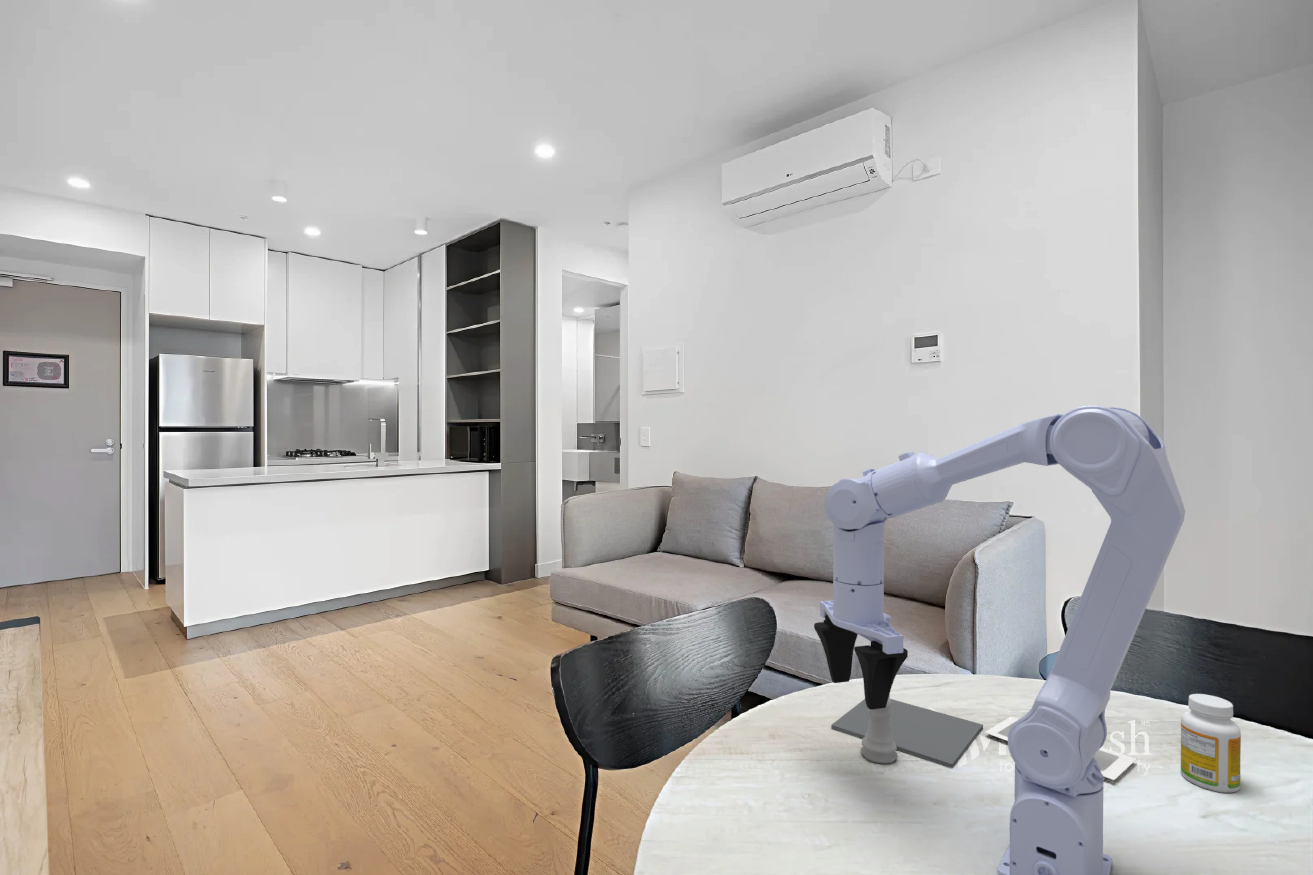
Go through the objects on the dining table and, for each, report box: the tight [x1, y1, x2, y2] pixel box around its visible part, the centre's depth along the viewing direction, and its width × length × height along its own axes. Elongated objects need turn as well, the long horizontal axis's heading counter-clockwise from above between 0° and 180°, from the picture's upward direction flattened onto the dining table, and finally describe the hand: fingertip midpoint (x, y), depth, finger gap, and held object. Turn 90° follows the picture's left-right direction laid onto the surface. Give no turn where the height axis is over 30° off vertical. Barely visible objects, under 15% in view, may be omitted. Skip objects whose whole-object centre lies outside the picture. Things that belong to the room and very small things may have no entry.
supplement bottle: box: [1180, 693, 1242, 794], centre depth 76 cm, size 5×5×10 cm
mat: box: [830, 698, 984, 769], centre depth 90 cm, size 14×16×1 cm
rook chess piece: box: [860, 694, 898, 765], centre depth 82 cm, size 4×4×8 cm
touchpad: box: [984, 716, 1137, 781], centre depth 84 cm, size 8×15×2 cm, turn 37°
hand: (857, 693), depth 76 cm, fingers open, 7 cm apart
